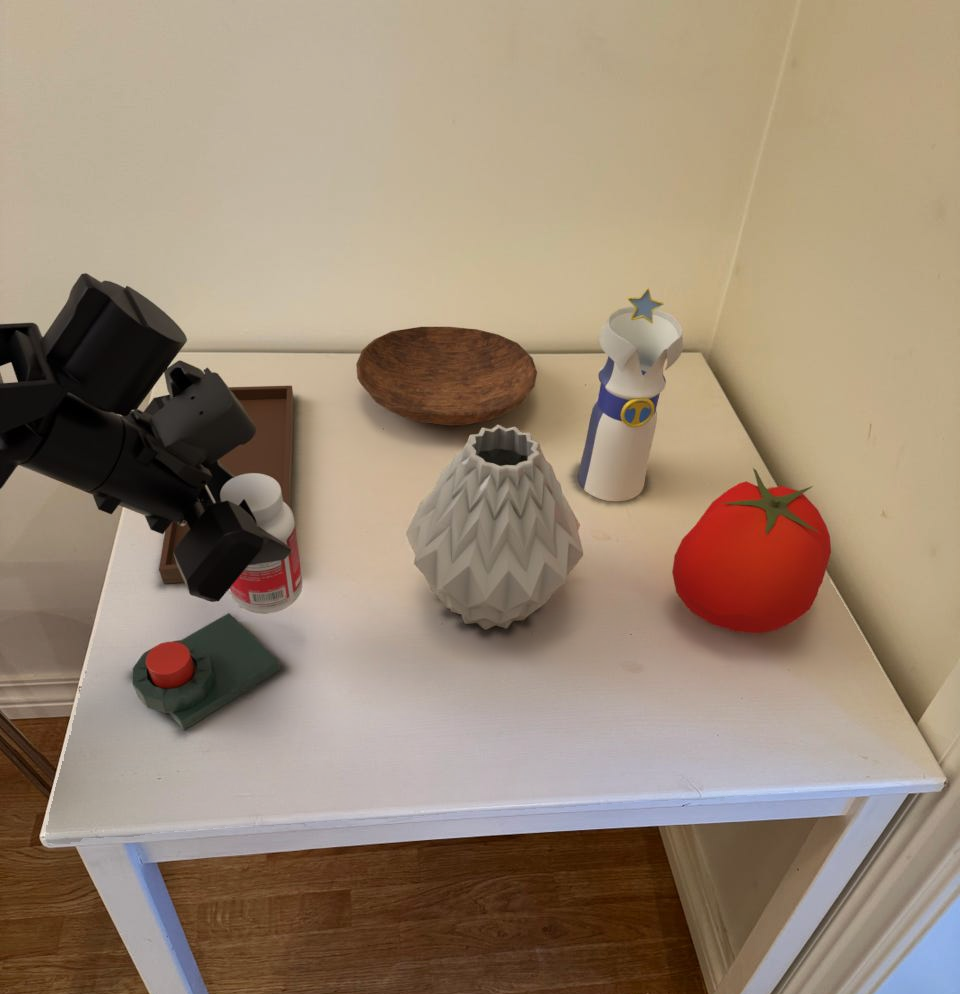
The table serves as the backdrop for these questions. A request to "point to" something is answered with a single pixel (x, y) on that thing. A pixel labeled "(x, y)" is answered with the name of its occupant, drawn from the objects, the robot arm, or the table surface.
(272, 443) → the brown rectangular tray
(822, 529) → the tomato
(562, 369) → the table surface
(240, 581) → the pill bottle
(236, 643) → the block
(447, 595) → the vase
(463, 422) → the bowl
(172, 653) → the button
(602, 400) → the white toy figure
